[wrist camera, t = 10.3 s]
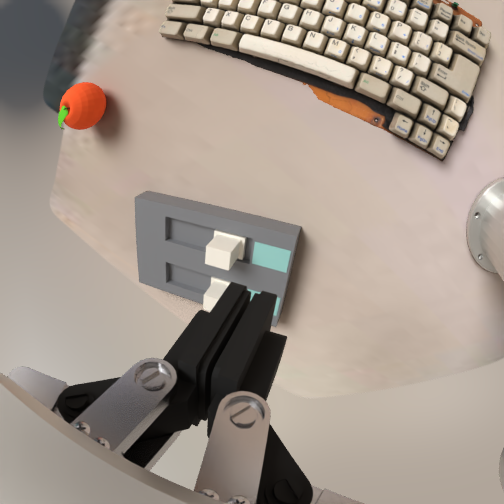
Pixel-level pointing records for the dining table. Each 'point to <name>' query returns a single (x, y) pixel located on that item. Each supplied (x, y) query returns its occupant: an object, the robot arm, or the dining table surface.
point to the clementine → (82, 106)
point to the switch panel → (198, 237)
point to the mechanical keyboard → (355, 55)
